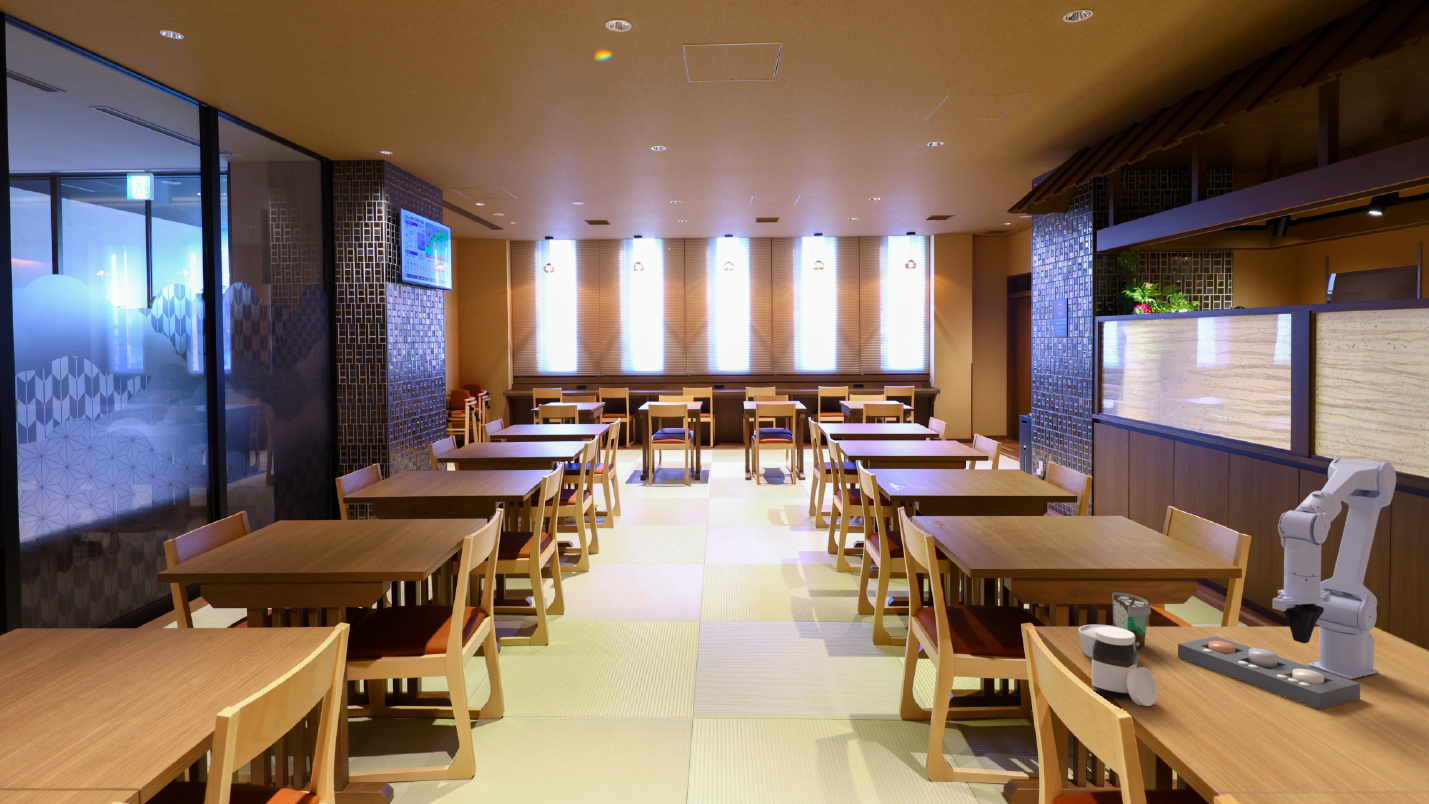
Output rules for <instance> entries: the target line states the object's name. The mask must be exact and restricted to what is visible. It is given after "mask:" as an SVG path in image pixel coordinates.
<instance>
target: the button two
mask: <svg viewBox="0 0 1429 804" xmlns="http://www.w3.org/2000/svg"><path fill="white" fill-rule="evenodd" d="M1250 648H1251V649H1249V655H1248V661H1249V662H1250V663H1251V664H1254V665H1257V666H1261V667H1267V668H1274V667H1277V659H1278V657H1279V656H1278V653H1277V652H1276V651H1275V652H1274V651H1272V650H1271V649H1270V650H1269V649H1265V648H1257V647H1255V648H1254V647H1250Z"/></svg>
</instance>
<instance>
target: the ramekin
mask: <svg viewBox="0 0 1429 804" xmlns="http://www.w3.org/2000/svg"><path fill="white" fill-rule="evenodd" d="M1099 627H1115V626H1113V625H1107V624H1086V625H1081V626H1080V627H1079V628H1078V636H1079V640H1080V646H1081V650H1082V653H1083V654H1084V655H1085V656H1086V657H1089V658H1090V659H1092V647H1093V644H1094V641H1095V639H1096V637H1095V629H1097V628H1099ZM1116 628H1119V627H1116ZM1121 629H1123V628H1121ZM1125 630H1126V629H1125ZM1134 642H1135V636H1134Z"/></svg>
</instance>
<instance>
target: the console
mask: <svg viewBox="0 0 1429 804" xmlns="http://www.w3.org/2000/svg"><path fill="white" fill-rule="evenodd" d="M1210 641H1223V642H1227V643H1231V644H1233V645H1235V653H1231V654H1226V655H1225V654H1222V653H1220V652H1217V651H1214V650H1211V649H1208V645H1209V642H1210ZM1251 648H1252V647H1250V646H1247V645H1243V644H1241V643H1238V642H1234V641H1231V640H1229V639H1226V638H1223V637H1219V636H1211V637H1206V638H1201V639H1196V640H1189V641H1186V642H1180V643H1177V658H1178V659H1182V660H1184V661H1187V662H1189V663H1192V664H1195V665H1198V666H1200V667H1202V666H1203V668H1206V669H1208V670H1211V671H1213V672H1216V671H1217V672H1216V673H1218V674H1221V675H1224V674H1225V675H1224V676H1226V677H1229V676H1231V677H1230V678H1232V677H1233V679H1235V680H1238V681H1241V682H1243V681H1244V683H1245V684H1248V685H1252V686H1254V687H1256V686H1257V688H1260V689H1261V690H1262V689H1263V690H1265V689H1266V690H1265V691H1267V690H1268V692H1270V691H1272V692H1271V693H1273V692H1274V693H1273V694H1275V693H1276V695H1278V694H1280V695H1279V696H1281V695H1282V696H1281V697H1284V696H1286V697H1287V699H1289V698H1290V699H1289V700H1292V699H1294V700H1295V702H1297V701H1299V702H1298V703H1300V702H1301V703H1300V704H1302V703H1303V704H1302V705H1305V704H1306V706H1308V707H1311V708H1314V709H1317V710H1322V709H1327V708H1331V707H1335V706H1339V705H1342V704H1346V703H1350V702H1353V701H1357V700H1356V699H1358V700H1360V699H1361V683H1360V682H1357V681H1354V680H1353V679H1347V678H1344V677H1341V676H1338V675H1335V674H1332V673H1329V672H1326V671H1323V670H1320V669H1317V668H1314V667H1310V666H1309V665H1305V664H1302V663H1299V662H1296V661H1294V660H1290V659H1287V658H1284V657H1281V656H1278V659H1277V667H1274V668H1267V667H1261V666H1257V665H1254V664H1251V663H1250V662H1249V661H1248V655H1249V649H1251ZM1294 669H1307V670H1312V671H1316V672H1318V673H1321V674H1322V675H1324V683H1322V684H1318V685H1312V684H1309V683H1307V682H1304V681H1301V680H1298V679H1295V678H1292V675H1293V670H1294ZM1286 697H1285V698H1286ZM1294 700H1293V701H1294Z"/></svg>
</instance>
